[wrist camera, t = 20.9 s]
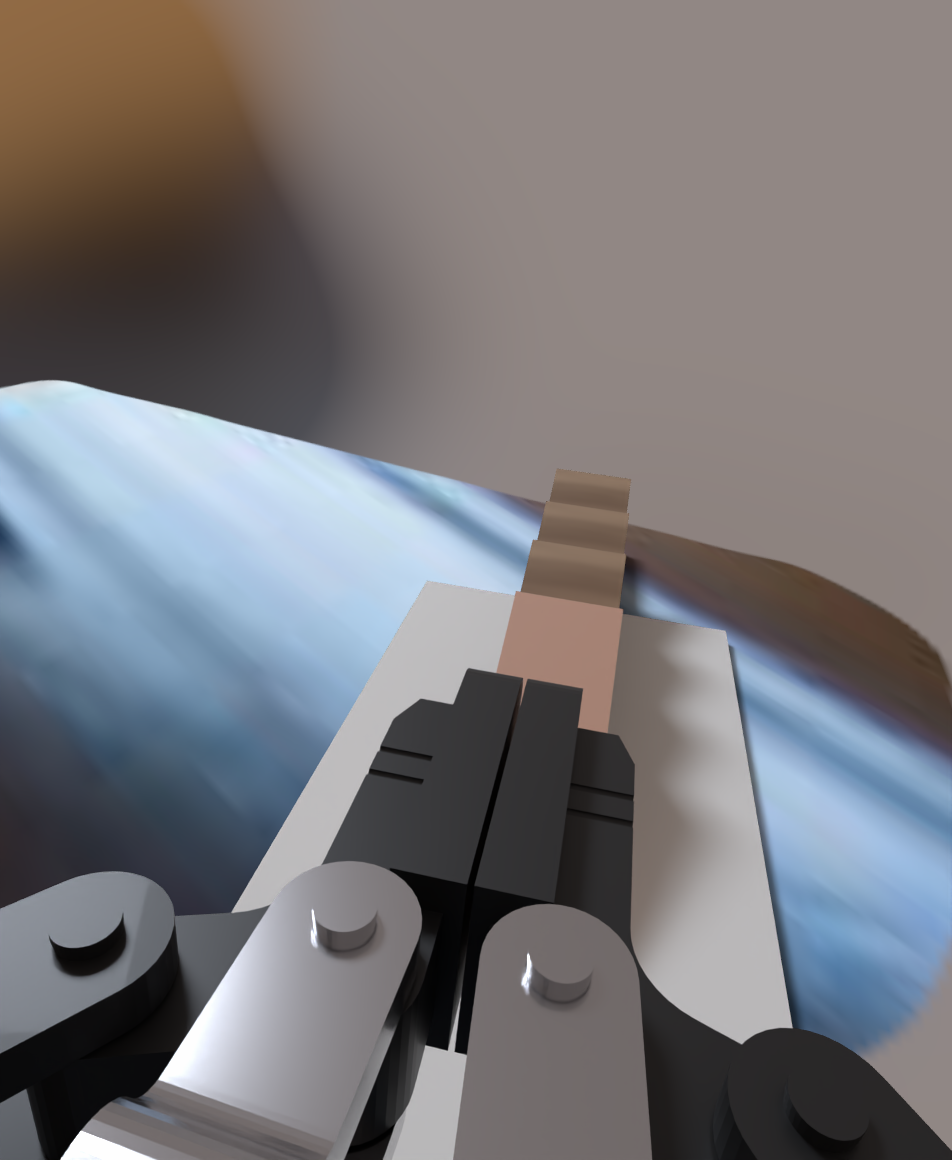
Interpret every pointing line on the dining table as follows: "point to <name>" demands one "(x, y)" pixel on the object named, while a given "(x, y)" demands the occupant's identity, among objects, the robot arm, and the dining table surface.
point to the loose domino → (565, 650)
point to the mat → (660, 825)
